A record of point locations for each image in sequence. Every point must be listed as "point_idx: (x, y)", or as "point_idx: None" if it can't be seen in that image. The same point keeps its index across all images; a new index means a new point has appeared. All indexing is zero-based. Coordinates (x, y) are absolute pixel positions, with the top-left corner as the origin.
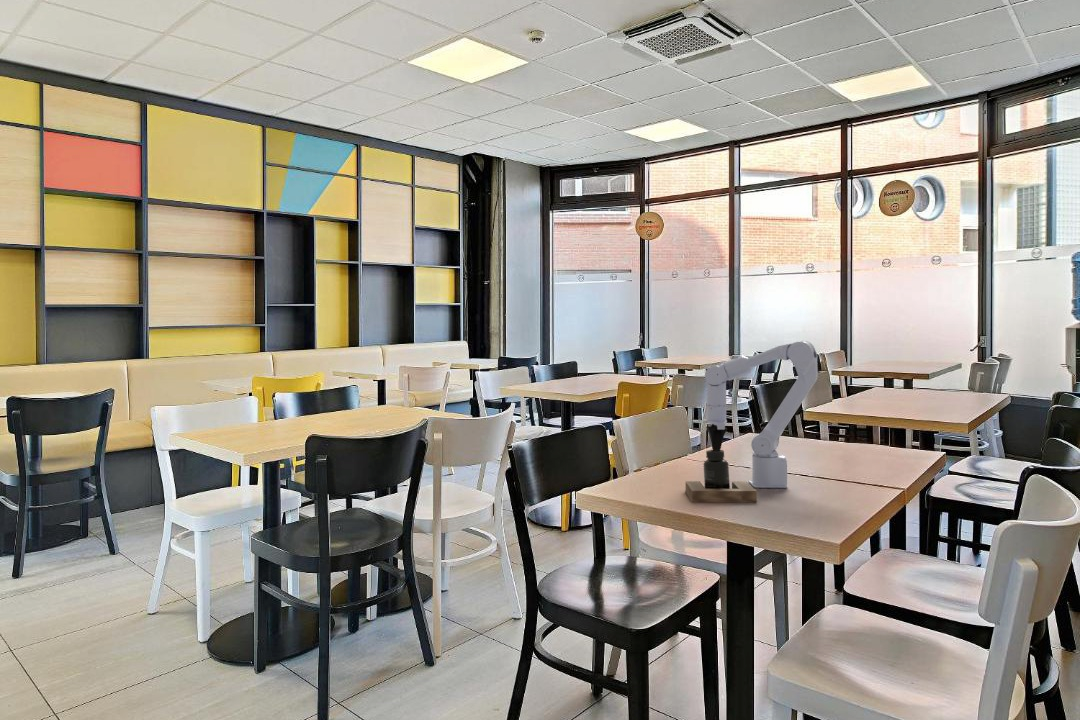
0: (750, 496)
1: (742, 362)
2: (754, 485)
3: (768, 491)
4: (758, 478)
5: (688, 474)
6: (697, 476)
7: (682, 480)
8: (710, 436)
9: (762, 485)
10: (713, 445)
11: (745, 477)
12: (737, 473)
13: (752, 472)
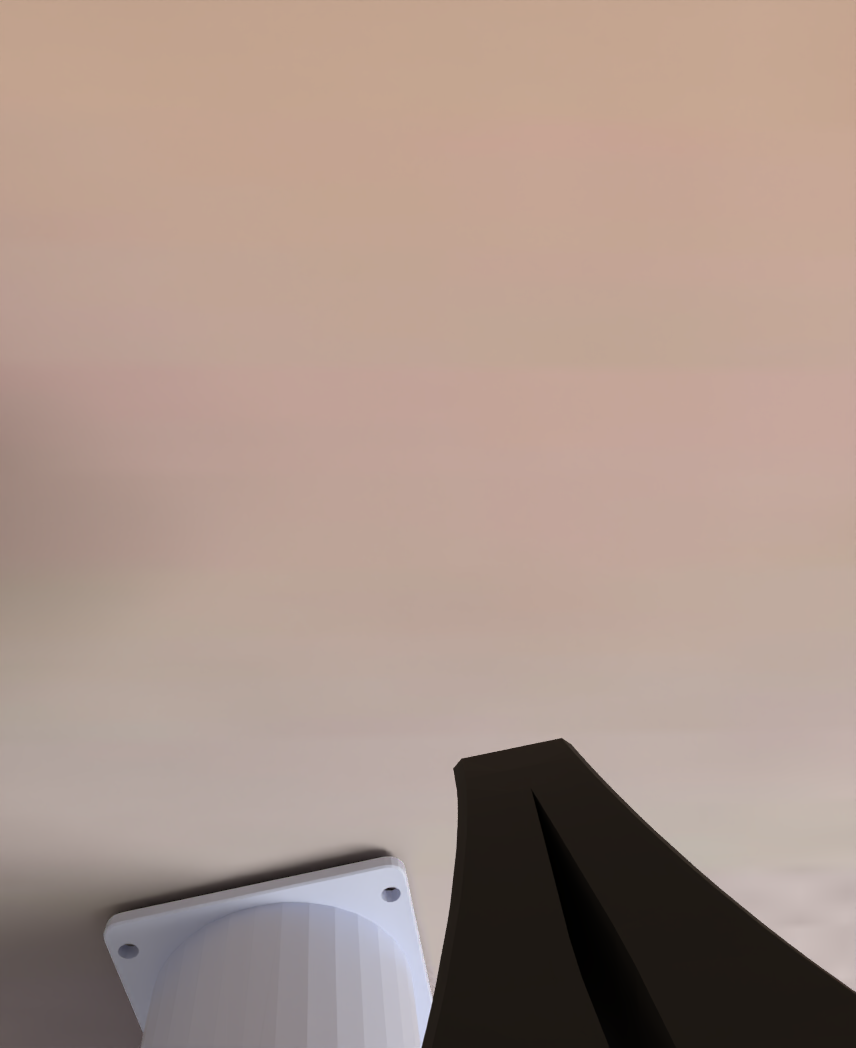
0: None
1: None
2: (141, 924)
3: (6, 1013)
4: (157, 1024)
5: (810, 137)
6: (675, 278)
7: (362, 18)
8: (672, 1041)
9: (153, 988)
10: (457, 859)
11: (646, 818)
12: (847, 744)
13: (264, 1013)
